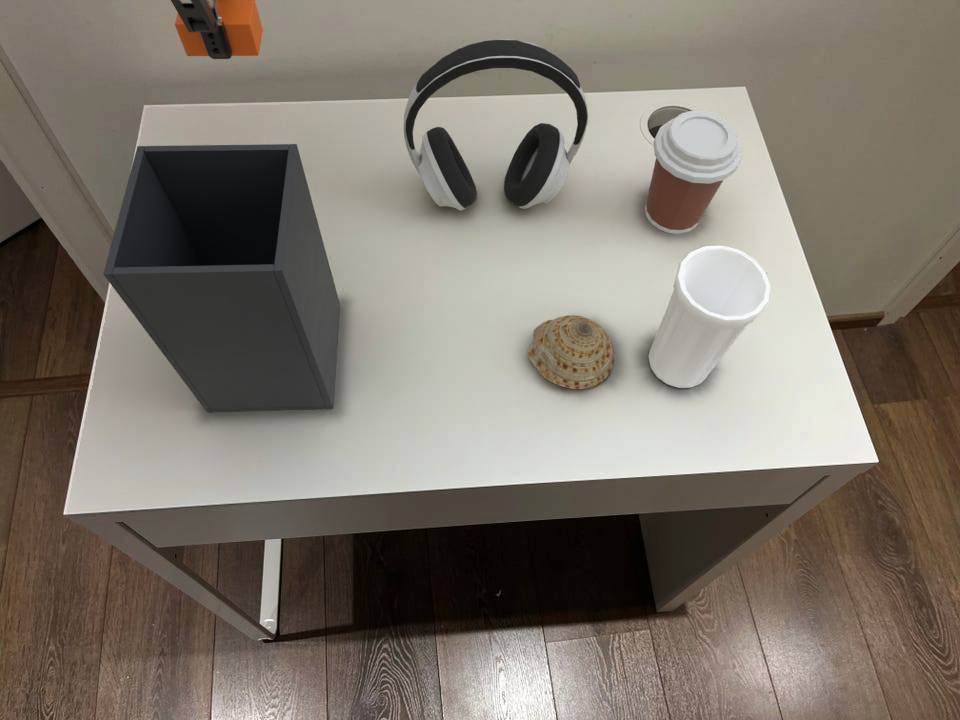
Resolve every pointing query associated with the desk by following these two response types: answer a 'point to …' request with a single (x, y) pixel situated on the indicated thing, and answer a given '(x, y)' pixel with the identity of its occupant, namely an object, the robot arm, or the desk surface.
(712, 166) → the coffee cup
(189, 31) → the robot arm
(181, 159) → the wastebasket
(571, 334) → the seashell
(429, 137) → the headphones
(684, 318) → the cup
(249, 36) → the block
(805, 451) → the desk surface
